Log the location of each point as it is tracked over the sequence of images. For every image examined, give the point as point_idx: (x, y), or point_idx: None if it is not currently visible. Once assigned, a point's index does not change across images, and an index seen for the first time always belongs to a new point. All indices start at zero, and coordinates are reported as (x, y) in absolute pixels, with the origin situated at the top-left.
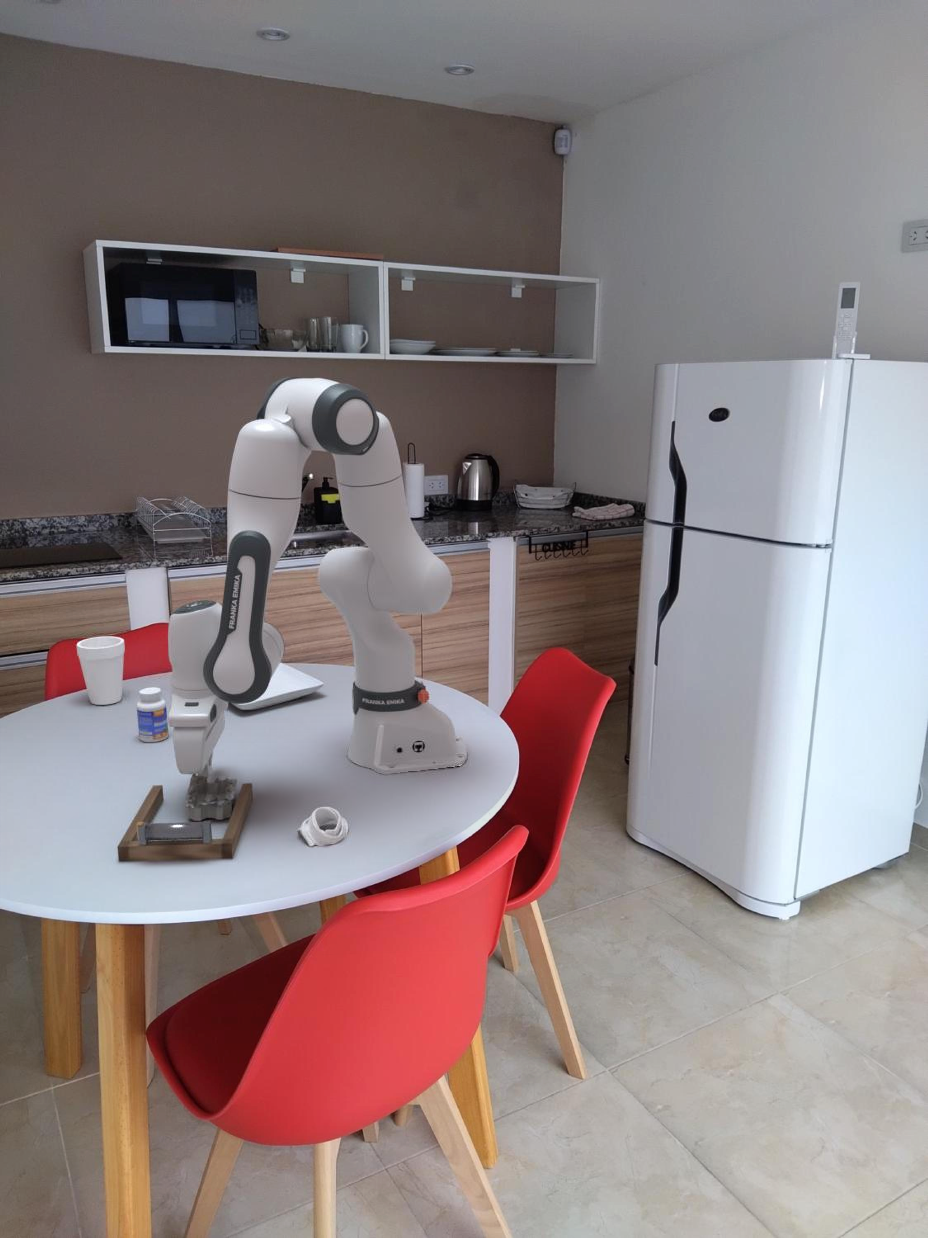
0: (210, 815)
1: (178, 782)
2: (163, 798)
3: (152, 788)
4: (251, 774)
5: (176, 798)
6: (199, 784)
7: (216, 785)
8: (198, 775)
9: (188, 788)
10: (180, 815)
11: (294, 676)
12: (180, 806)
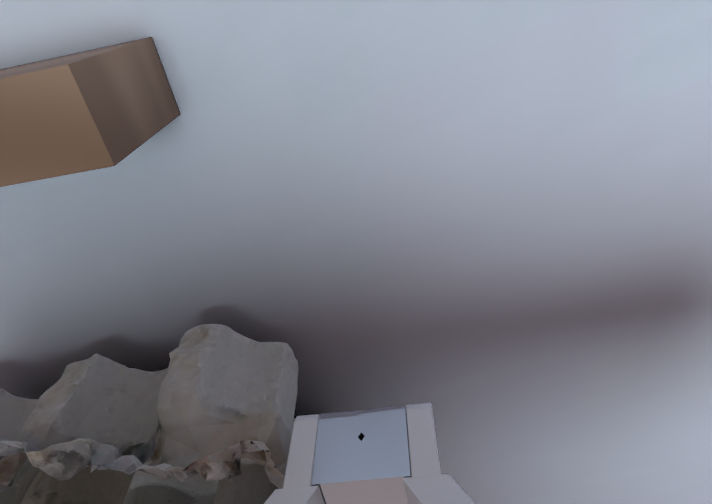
0: (34, 476)
1: (551, 79)
2: (165, 124)
3: (3, 91)
4: (633, 458)
5: (264, 180)
6: (275, 399)
7: None
8: (294, 440)
9: (33, 455)
10: (57, 292)
11: None
12: (162, 250)
